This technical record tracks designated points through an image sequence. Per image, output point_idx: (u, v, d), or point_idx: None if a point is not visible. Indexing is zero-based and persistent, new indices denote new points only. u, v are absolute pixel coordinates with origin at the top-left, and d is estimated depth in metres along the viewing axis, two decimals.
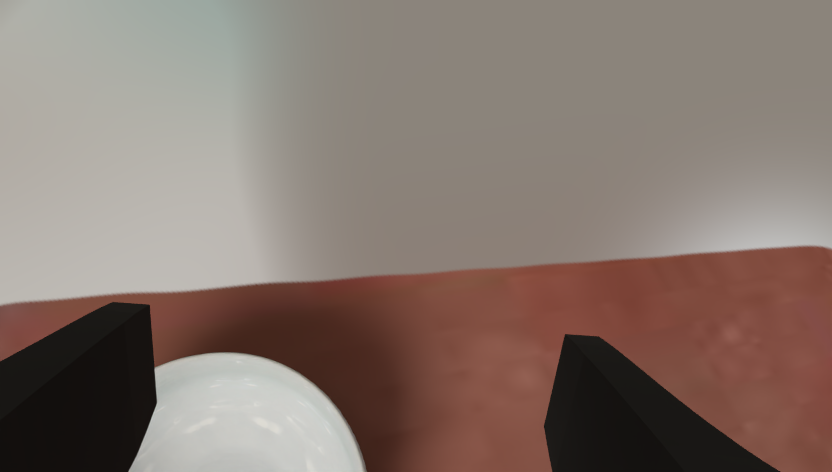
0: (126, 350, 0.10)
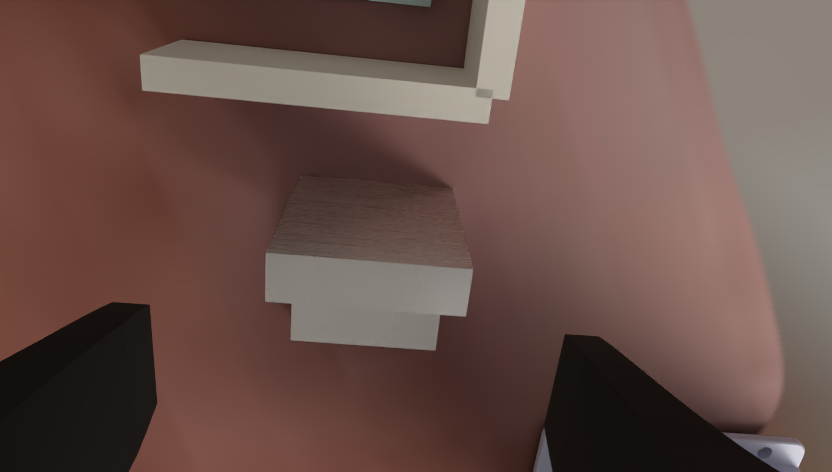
0: (126, 350, 0.10)
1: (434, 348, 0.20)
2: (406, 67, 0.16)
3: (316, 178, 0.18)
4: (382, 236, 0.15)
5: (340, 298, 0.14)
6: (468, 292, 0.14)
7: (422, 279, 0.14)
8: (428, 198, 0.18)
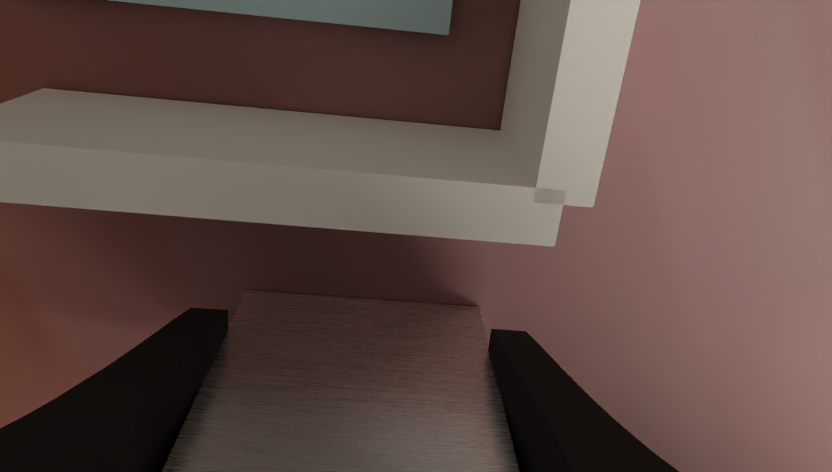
0: (211, 356, 0.10)
1: None
2: (409, 135, 0.10)
3: (267, 300, 0.12)
4: (366, 451, 0.08)
5: None
6: None
7: None
8: (443, 336, 0.11)
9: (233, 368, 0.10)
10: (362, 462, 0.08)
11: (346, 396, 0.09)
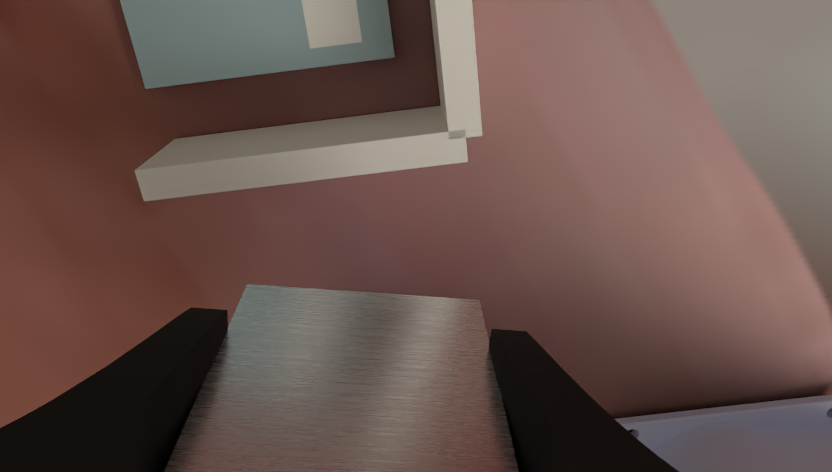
0: (210, 356, 0.10)
1: None
2: (383, 119, 0.17)
3: (268, 294, 0.12)
4: (367, 445, 0.08)
5: None
6: None
7: None
8: (443, 330, 0.11)
9: (235, 363, 0.10)
10: (362, 456, 0.08)
11: (347, 390, 0.09)
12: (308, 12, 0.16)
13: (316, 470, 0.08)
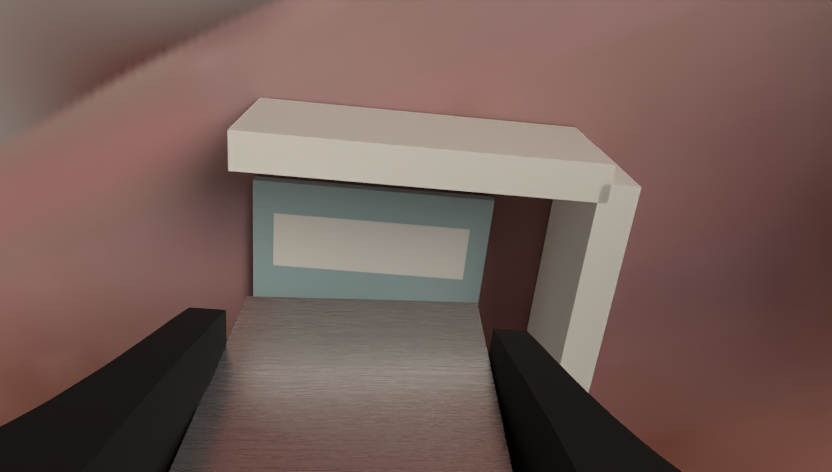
0: (209, 355, 0.10)
1: None
2: (557, 234, 0.15)
3: (268, 306, 0.12)
4: (361, 453, 0.09)
5: None
6: None
7: None
8: (441, 334, 0.11)
9: (234, 375, 0.10)
10: (357, 464, 0.08)
11: (343, 399, 0.10)
12: (428, 272, 0.16)
13: None
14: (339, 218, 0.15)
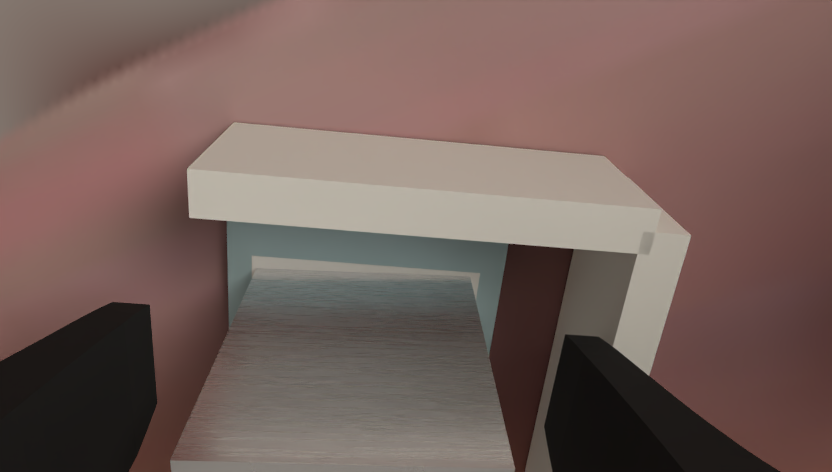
0: (126, 350, 0.10)
1: None
2: (582, 280, 0.13)
3: (276, 277, 0.13)
4: (366, 396, 0.10)
5: None
6: None
7: None
8: (436, 302, 0.12)
9: (248, 333, 0.11)
10: (363, 405, 0.09)
11: (348, 353, 0.11)
12: None
13: (322, 416, 0.09)
14: (328, 261, 0.13)
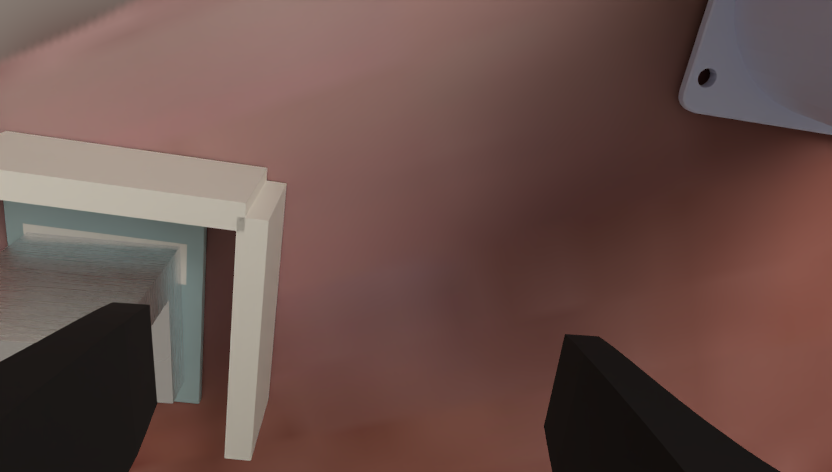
0: (126, 350, 0.10)
1: (171, 401, 0.20)
2: None
3: (37, 238, 0.19)
4: (42, 308, 0.15)
5: None
6: None
7: None
8: (139, 260, 0.18)
9: None
10: (36, 313, 0.15)
11: (51, 286, 0.16)
12: None
13: (5, 317, 0.15)
14: (77, 230, 0.19)
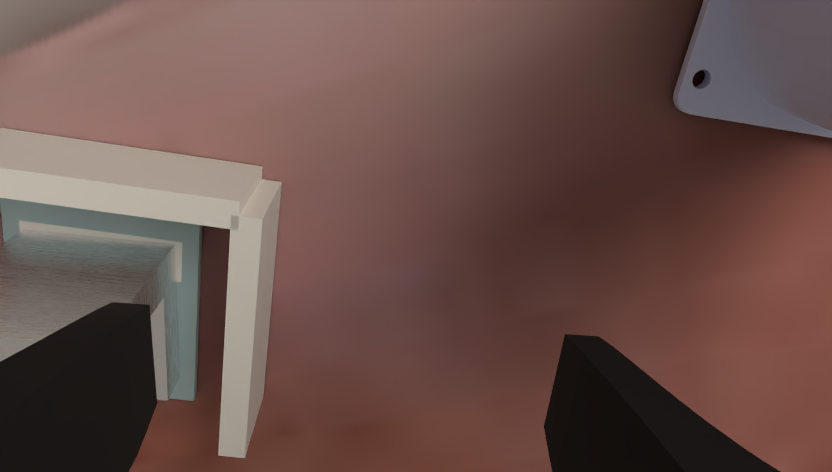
0: (126, 350, 0.10)
1: (166, 398, 0.20)
2: None
3: (33, 235, 0.19)
4: (36, 305, 0.15)
5: None
6: None
7: None
8: (134, 258, 0.18)
9: None
10: (30, 309, 0.15)
11: (45, 282, 0.16)
12: None
13: None
14: (73, 227, 0.19)
